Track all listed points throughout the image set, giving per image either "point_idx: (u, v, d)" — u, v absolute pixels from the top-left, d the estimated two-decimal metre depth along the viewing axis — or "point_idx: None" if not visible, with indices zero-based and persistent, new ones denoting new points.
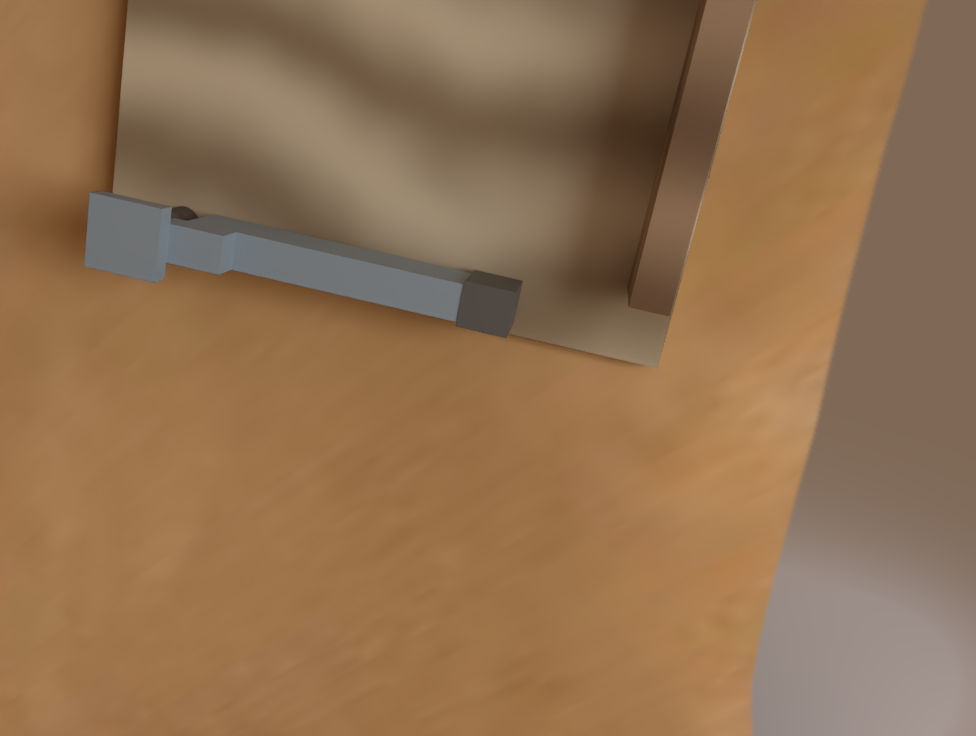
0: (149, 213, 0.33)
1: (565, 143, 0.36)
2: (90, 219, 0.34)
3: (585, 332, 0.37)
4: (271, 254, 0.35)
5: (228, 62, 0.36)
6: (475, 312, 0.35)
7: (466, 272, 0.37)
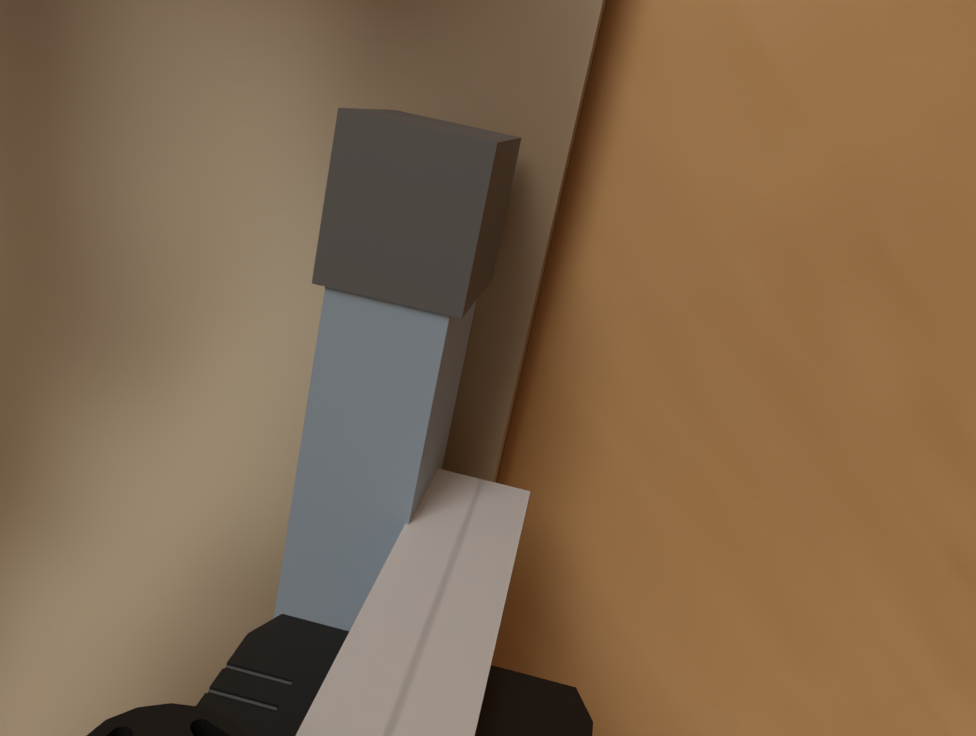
0: None
1: None
2: None
3: None
4: None
5: None
6: (412, 250, 0.10)
7: None
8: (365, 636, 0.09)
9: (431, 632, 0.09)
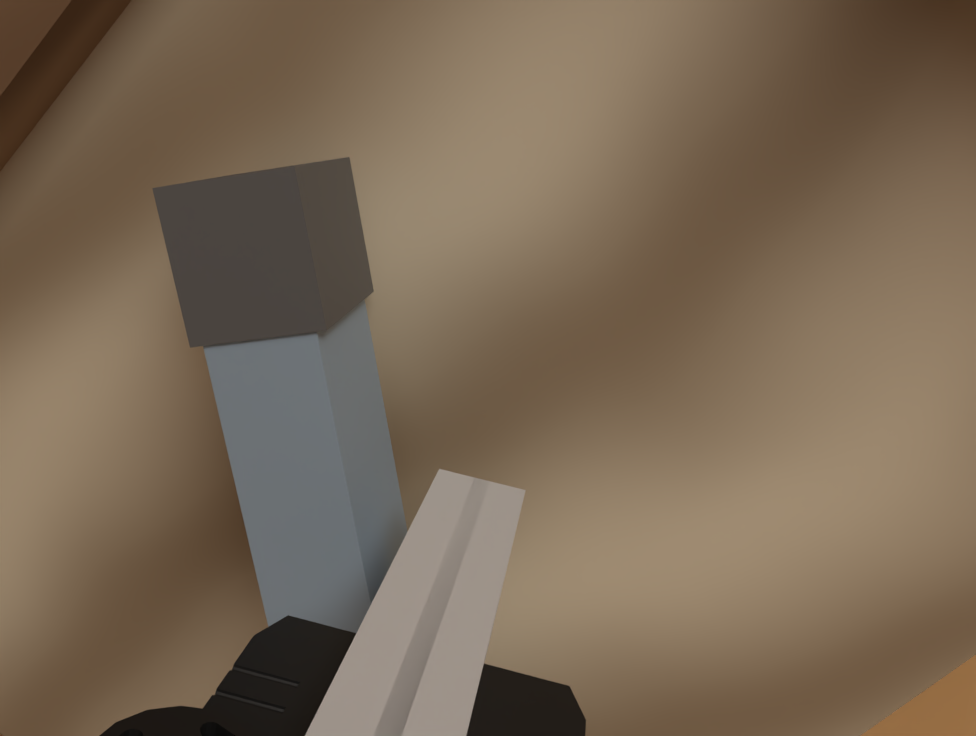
0: None
1: (856, 105, 0.13)
2: None
3: None
4: None
5: (224, 668, 0.16)
6: (261, 286, 0.11)
7: None
8: (371, 638, 0.09)
9: (424, 630, 0.09)
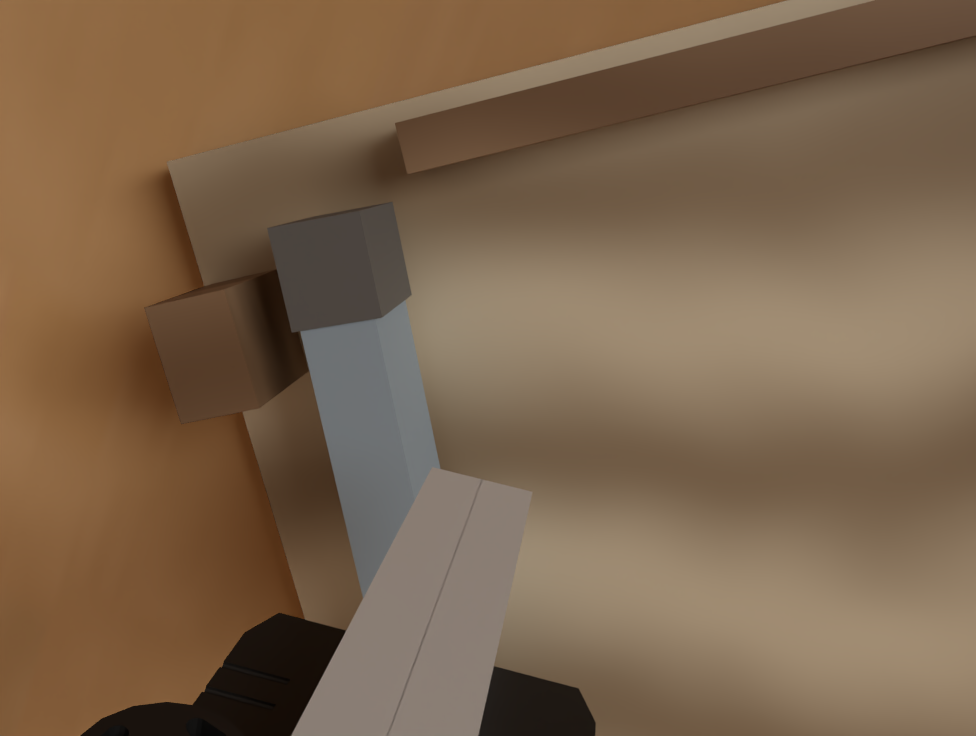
0: None
1: None
2: None
3: None
4: None
5: None
6: (339, 290, 0.17)
7: None
8: (362, 635, 0.09)
9: (434, 633, 0.09)
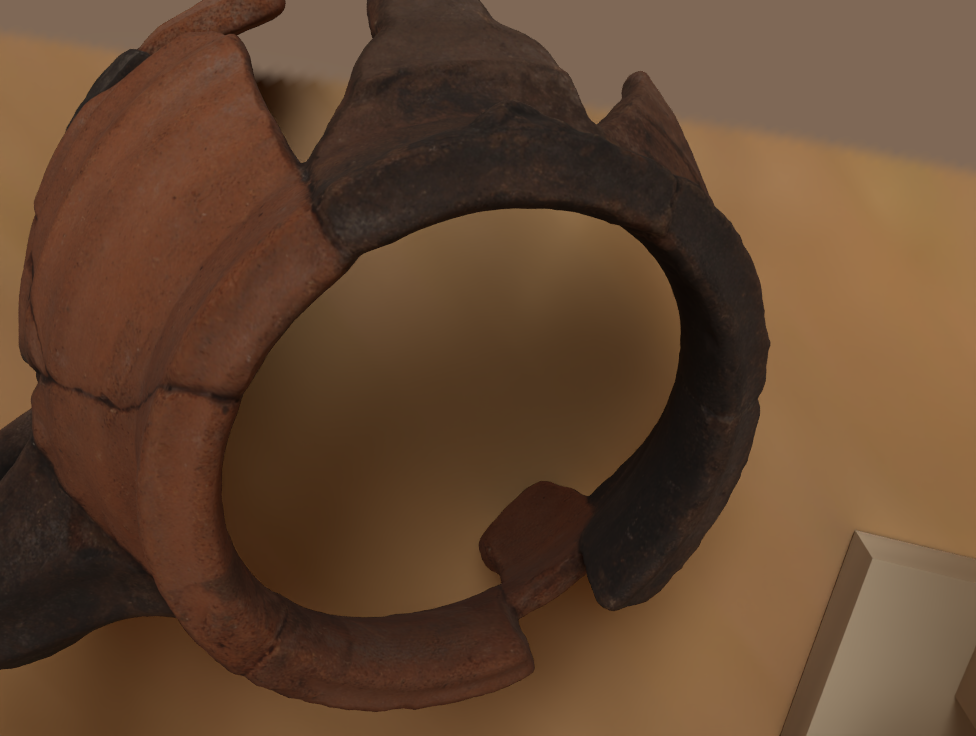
0: None
1: None
2: None
3: None
4: None
5: None
6: None
7: None
8: None
9: None
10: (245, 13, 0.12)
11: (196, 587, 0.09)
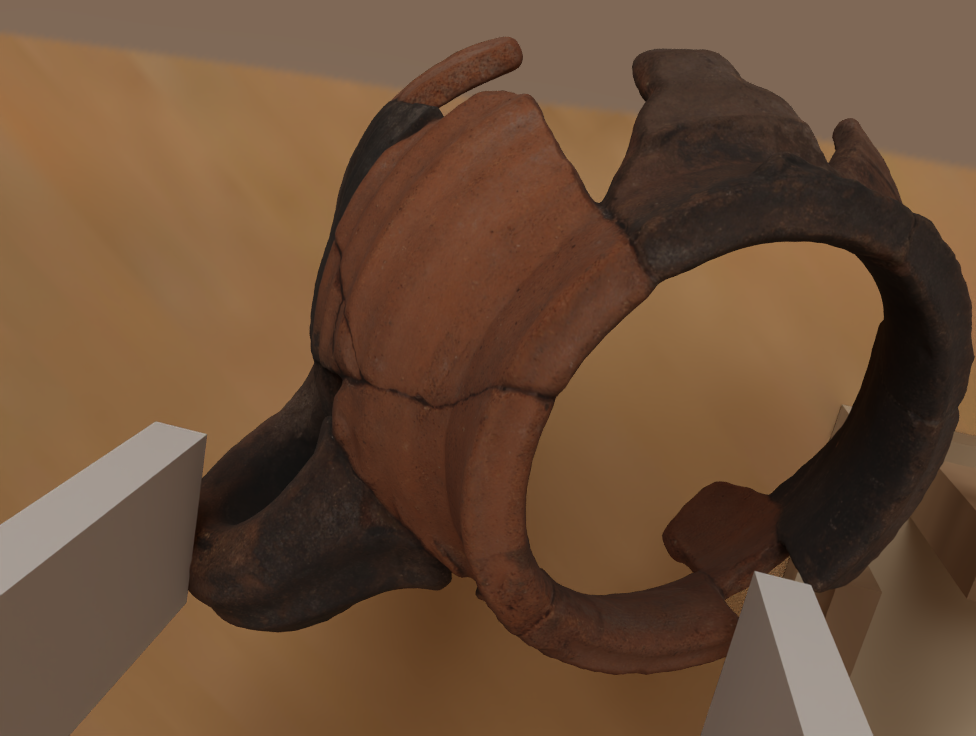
0: None
1: None
2: None
3: None
4: None
5: None
6: None
7: None
8: None
9: None
10: (491, 67, 0.14)
11: (500, 556, 0.11)
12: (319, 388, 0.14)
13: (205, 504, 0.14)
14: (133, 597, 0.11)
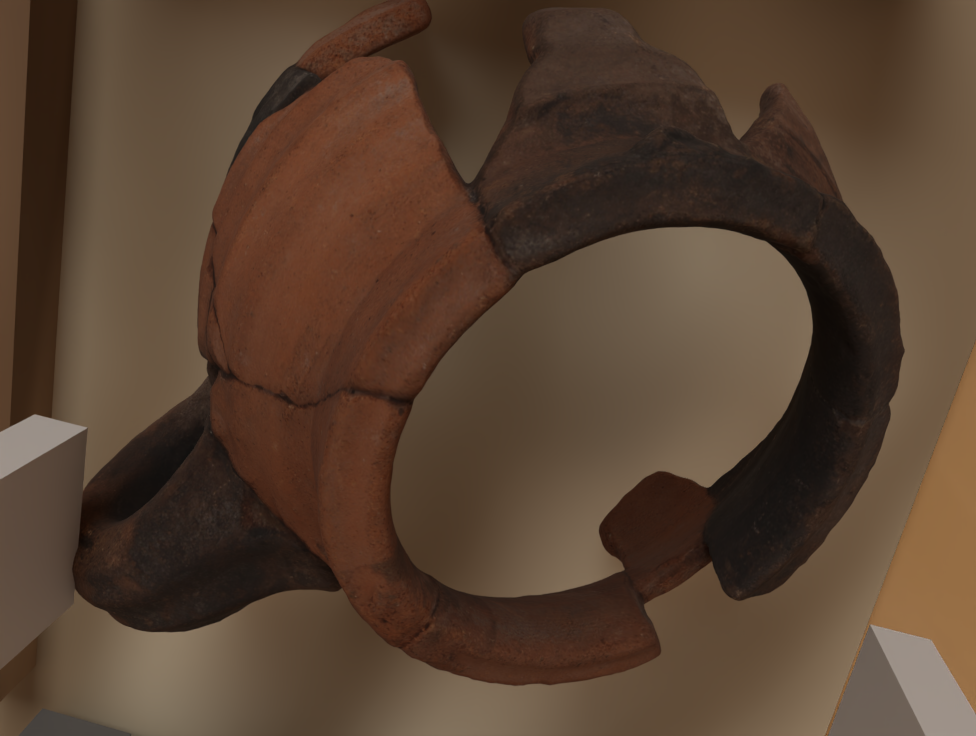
0: None
1: None
2: None
3: None
4: None
5: None
6: None
7: None
8: None
9: None
10: (395, 29, 0.13)
11: (366, 568, 0.10)
12: (209, 377, 0.13)
13: (97, 496, 0.13)
14: None
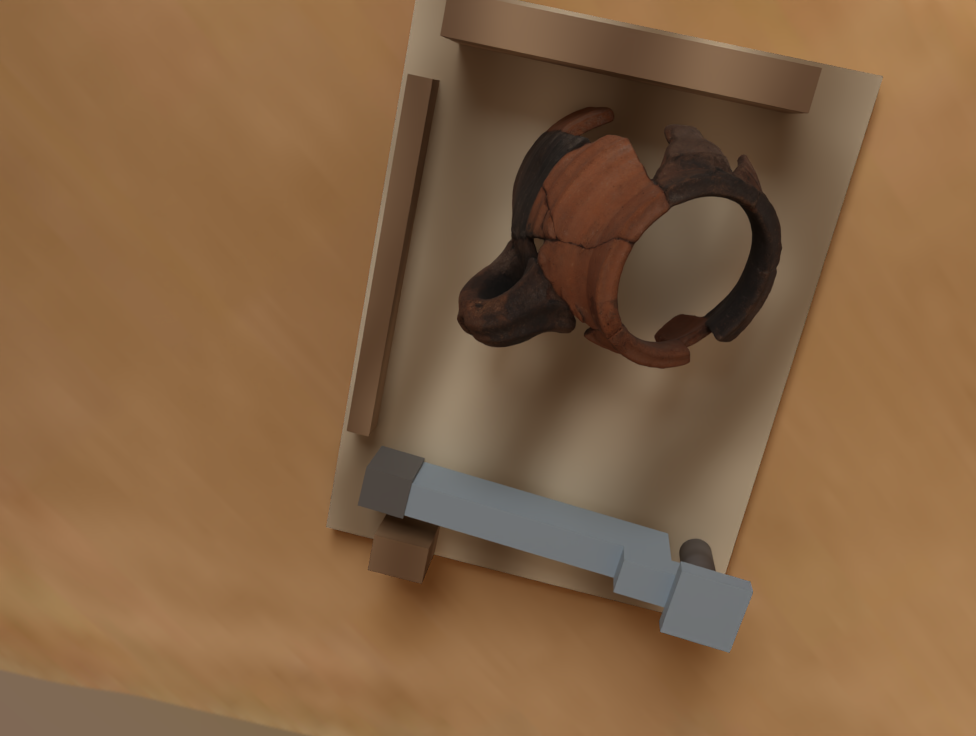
0: (673, 629, 0.36)
1: None
2: (735, 630, 0.35)
3: (835, 157, 0.35)
4: (581, 555, 0.38)
5: (550, 492, 0.40)
6: (393, 491, 0.38)
7: None
8: None
9: None
10: (601, 121, 0.34)
11: (608, 302, 0.31)
12: (525, 247, 0.33)
13: (471, 294, 0.34)
14: None
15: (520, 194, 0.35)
